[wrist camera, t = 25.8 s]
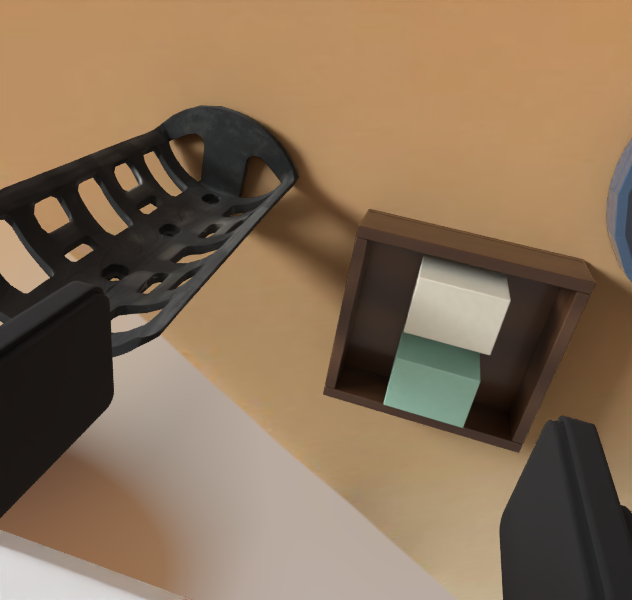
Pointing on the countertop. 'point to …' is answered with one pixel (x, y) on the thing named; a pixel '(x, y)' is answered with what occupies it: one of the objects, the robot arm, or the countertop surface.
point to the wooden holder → (496, 369)
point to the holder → (148, 218)
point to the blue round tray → (621, 211)
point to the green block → (433, 379)
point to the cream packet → (458, 304)
